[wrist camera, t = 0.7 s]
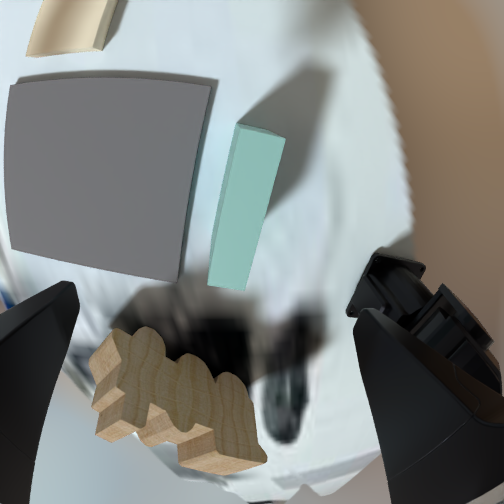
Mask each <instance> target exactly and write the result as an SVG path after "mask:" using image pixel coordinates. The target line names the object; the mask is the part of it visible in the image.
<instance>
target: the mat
mask: <svg viewBox="0 0 504 504" xmlns="http://www.w3.org/2000/svg"><path fill="white" fill-rule="evenodd" d="M211 88H212V87H211V86H205V85H198V84H191V83H183V82H175V81H165V80H154V79H140V78H111V77H96V78H68V79H55V80H44V81H35V82H28V83H21V84H15V85H10V90H9V96H8V104H7V112H6V123H5V137H4V187H5V202H6V213H7V221H8V229H9V236H10V242H11V248H12V249H13V250H17V251H21V252H25V253H30V254H34V255H38V256H42V257H46V258H51V259H55V260H60V261H64V262H69V263H73V264H78V265H83V266H87V267H92V268H97V269H102V270H107V271H112V272H117V273H122V274H128V275H133V276H138V277H144V278H149V279H155V280H161V281H167V282H172V283H177V281H178V274H179V265H180V257H181V249H182V241H183V234H184V227H185V220H186V214H187V207H188V201H189V195H190V189H191V183H192V177H193V172H194V167H195V161H196V156H197V151H198V146H199V141H200V136H201V131H202V127H203V122H204V118H205V113H206V109H207V104H208V100H209V96H210V92H211Z"/></svg>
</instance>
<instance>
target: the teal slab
mask: <svg viewBox="0 0 504 504" xmlns="http://www.w3.org/2000/svg"><path fill="white" fill-rule="evenodd" d="M285 140H286V139H285V138H283V137H281V136H279V135H277V134H275V133H273V132H271V131H268V130H265V129H261V128H257V127H252V126H248V125H243V124H238V123H236V125H235V129H234V134H233V138H232V142H231V147H230V151H229V155H228V160H227V164H226V169H225V174H224V178H223V183H222V188H221V192H220V197H219V202H218V207H217V212H216V217H215V222H214V227H213V232H212V238H211V249H210V260H209V271H208V283H207V285H209V286H216V287H222V288H229V289H236V290H243V291H245V288H246V284H247V280H248V277H249V273H250V269H251V266H252V262H253V258H254V255H255V251H256V247H257V244H258V240H259V236H260V233H261V229H262V225H263V222H264V218H265V214H266V211H267V207H268V203H269V199H270V196H271V192H272V188H273V185H274V181H275V177H276V174H277V170H278V166H279V162H280V159H281V155H282V151H283V148H284V144H285Z"/></svg>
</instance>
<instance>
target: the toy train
mask: <svg viewBox="0 0 504 504" xmlns="http://www.w3.org/2000/svg"><path fill="white" fill-rule="evenodd" d="M89 366H90V369H91V372H92V374H93V377H94V380H95V382H96V384H97V387H96V390H95V394H94V398H93V402H92V406H91V407H92V408H93V409H94V410H96V411H97V412H99V418H98V424H97V428H96V433H95V435H97V436H99V437H101V438H103V439H105V440H107V441H109V442H111V443H112V442H114V441H116V440H118V439H120V438H123V437H125V436H127V435H129V434H131V433H133V432H135V431H136V433H137V435H138V437H139V439H140V441H142V442H143V443H144V444H145V445H146V446H149V447H153V446H155V445H158V444H160V443H163V442H165V441H169V442H171V443H174V444H177V448H178V462H179V464H180V465H181V466H183V467H187V468H191V469H195V470H199V471H204V472H209V473H214V474H219V475H224V476H225V475H229V474H232V473H236V472H239V471H243V470H246V469H249V468H252V467H255V466H258V465H261V464H264V463H266V462H267V455H266V453H265V452H264V450H263V449H262V448H261V446H260V445H259V444H258V438H257V430H256V422H255V413H254V404H253V402H252V401H251V400H250V399H249V398H248V393H247V390H246V388H245V385H244V384H243V383H242V381H241V380H240V379H239V378H238V377H237V376H235V375H234V374H232V373H229V372H223V373H221V374H220V375H218V376H217V377H215V378H214V379H213V377H212V375H211V373H210V371H209V369H208V368H207V366H206V364H205V363H204V362H203V361H202V360H201V359H200V358H198V357H196V356H194V355H192V354H188V353H187V354H185V355H183V356H181V357H180V358H178V359H177V360H176V361H175V362H174V361H172V360H170V359H169V358H167V357H165V345H164V342H163V339H162V337H161V336H160V335H159V334H158V333H157V332H156V331H155V330H154V329H152V328H149V327H146V326H145V327H142V328H140V329H138V330H137V331H136V332H135V334H134V335H133V336H131V335H129V334H127V333H126V332H124V331H122V330H120V329H118V328H115V329H113V330H112V332H111V333H110V334H109V335H108V336H107V338H106V339H105V340H104V341H103V342H102V344H101V345H100V346H99V347H98V349H97V350H96V351H95V352H94V353H93V355H92V356H91V357H90V359H89Z"/></svg>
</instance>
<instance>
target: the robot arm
mask: <svg viewBox="0 0 504 504" xmlns="http://www.w3.org/2000/svg"><path fill="white" fill-rule="evenodd" d="M377 258H378V260H377V261H375V260H376V259H377ZM425 269H426V266H425V265H424V264H423V263H420V262H416V261H412V260H407V259H403V258H398V257H393V256H389V255H384V254H380V253H376V254H374V255H372V257H371V259H370V261H369V263H368V266H367V268H366V270H365V272H364V274H363V276H362V278H361V280H360V282H359V284H358V286H357V289H356V291H355V293H354V295H353V297H352V299H351V301H350V303H349V305H348V307H347V309H346V311H345V312H346V314H347V316H348V317H353V318H358V319H357V321H356V323H355V325H354V328H353V336H354V341H355V346H356V352H357V357H358V362H359V368H360V372H361V376H362V380H363V383H364V387H365V390H366V394H367V398H368V401H369V405H370V409H371V412H372V416H373V420H374V424H375V428H376V432H377V436H378V440H379V444H380V449H381V453H382V458H383V462H384V467H385V471H386V476H387V480H388V487H389V492H390V498H391V503H392V504H504V397H503V396H502V381H501V372H500V366H499V362H498V361H497V359H496V358H495V357H494V355H493V354H492V353H491V351H490V350H489V348H490V346H491V345H492V344H493V343H494V340H493V339H492V337H491V336H490V335H489V333H488V332H487V331H486V329H485V328H484V326H483V325H482V324H481V322H480V321H479V320H478V318H477V317H476V316H475V315H474V314H473V313H472V312H471V311H470V309H469V308H468V307H467V306H466V305H465V304H464V303H463V302H462V301H461V300H460V299H459V298H458V297H457V296H456V295H455V294H454V293H453V292H452V291H451V290H450V289H449V288H447V287H446V286H445V285H444V284H443V283H442V284H441V285H440V287H439V288H438V289H439V290H438V291H437V292H436V294H435V295H433V294H432V293H431V292H430V290H429V289H428V288H427V287H426V286H425V285H424V284H423V283H422V282H421V280H420V279H421V277H422V275H423V273H424V272H425ZM79 310H80V303H79V299H78V295H77V290H76V286H75V284H74V283H73V282H69V281H61V282H59V283H57V284H55V285H53V286H51V287H49V288H47V289H45V290H43V291H41V292H39V293H38V294H36V295H34V296H32V297H30V298H28V299H26V300H25V301H23V302H21V303H19V304H17V305H16V306H14V307H12V308H10V309H8V310H7V311H5V312H3V313H1V314H0V503H1V504H29V501H30V492H31V484H32V478H33V472H34V466H35V460H36V455H37V450H38V445H39V441H40V437H41V432H42V428H43V425H44V421H45V417H46V414H47V410H48V407H49V403H50V400H51V397H52V394H53V390H54V387H55V384H56V381H57V378H58V375H59V373H60V370H61V367H62V364H63V362H64V359H65V356H66V353H67V351H68V347H69V344H70V340H71V337H72V333H73V330H74V327H75V323H76V320H77V317H78V314H79ZM351 311H352V312H351Z"/></svg>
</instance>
